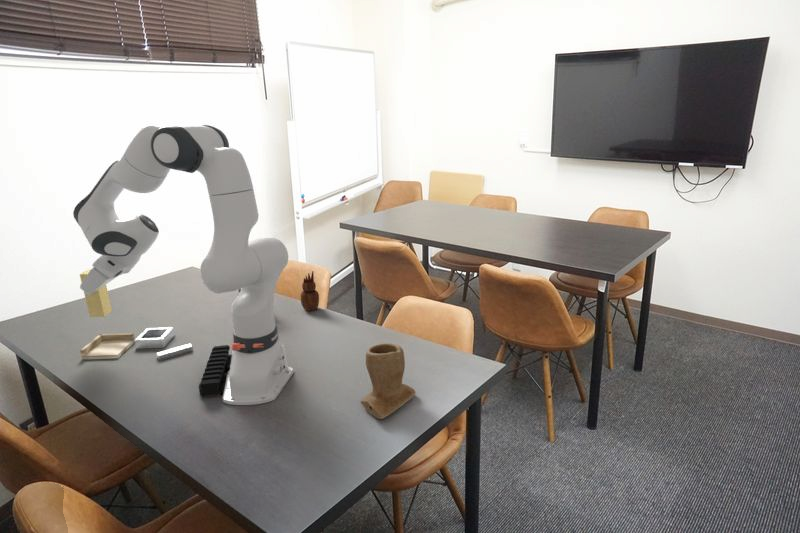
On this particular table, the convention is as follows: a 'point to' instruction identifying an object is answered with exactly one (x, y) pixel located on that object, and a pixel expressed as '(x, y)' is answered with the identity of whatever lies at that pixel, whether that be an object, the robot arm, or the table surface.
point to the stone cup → (386, 380)
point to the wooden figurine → (309, 294)
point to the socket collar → (149, 335)
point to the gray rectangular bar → (174, 351)
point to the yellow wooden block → (97, 300)
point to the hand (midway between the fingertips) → (93, 290)
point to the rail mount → (215, 371)
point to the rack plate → (108, 346)
